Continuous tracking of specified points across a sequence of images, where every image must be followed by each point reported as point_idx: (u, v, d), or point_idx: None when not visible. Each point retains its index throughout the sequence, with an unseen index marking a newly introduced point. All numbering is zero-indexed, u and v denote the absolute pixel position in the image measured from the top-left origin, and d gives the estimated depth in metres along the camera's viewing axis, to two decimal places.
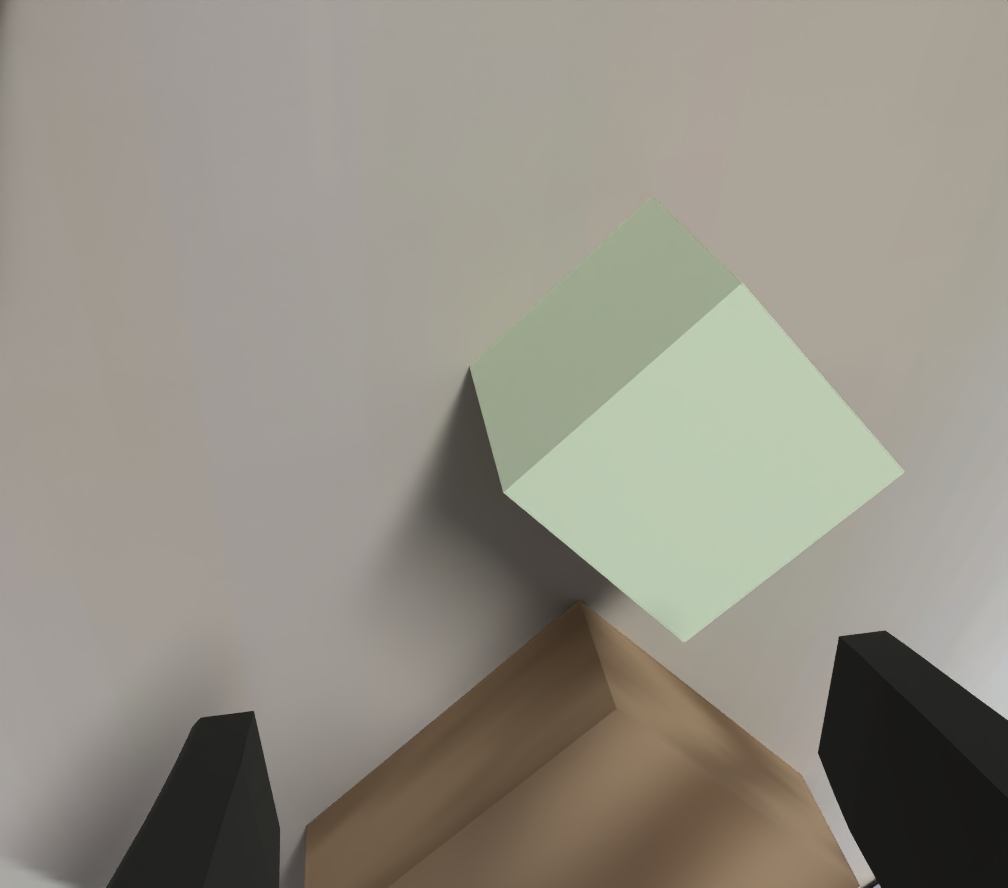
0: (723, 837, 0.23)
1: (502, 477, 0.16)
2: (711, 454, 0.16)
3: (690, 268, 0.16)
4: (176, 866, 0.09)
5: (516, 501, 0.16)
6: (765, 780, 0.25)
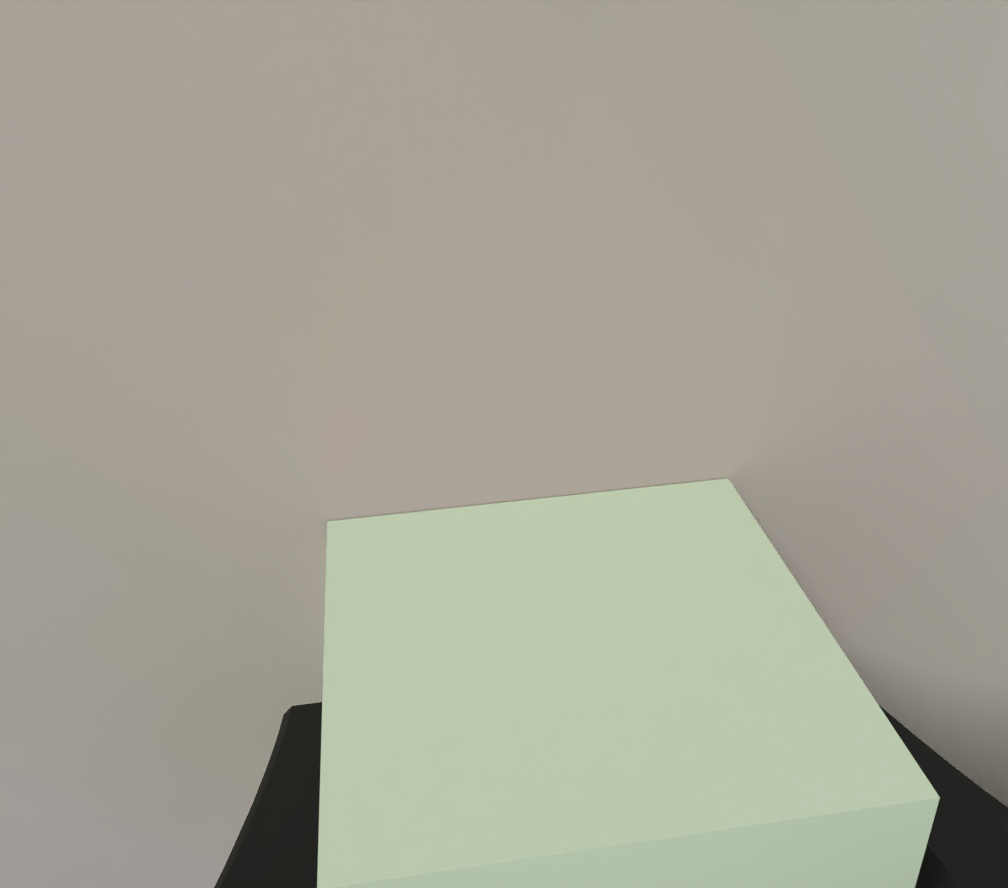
0: None
1: None
2: None
3: None
4: (291, 849, 0.09)
5: None
6: None
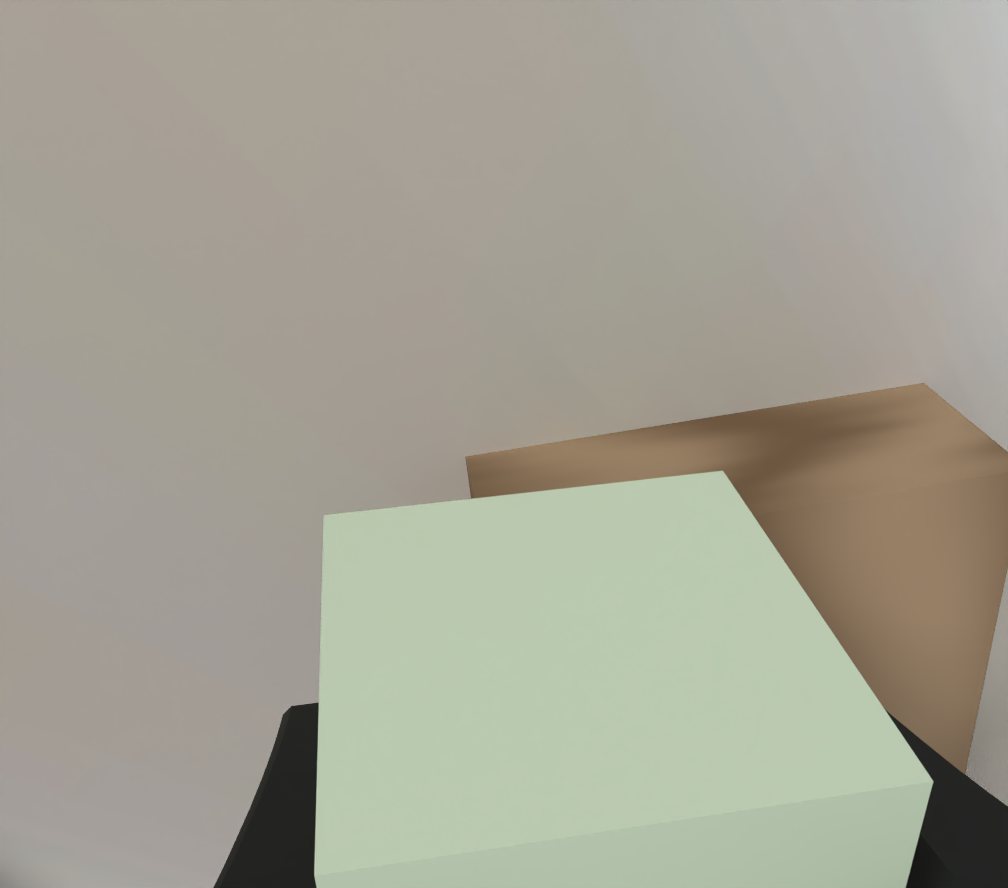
0: None
1: None
2: None
3: None
4: (290, 850, 0.09)
5: None
6: (820, 449, 0.19)
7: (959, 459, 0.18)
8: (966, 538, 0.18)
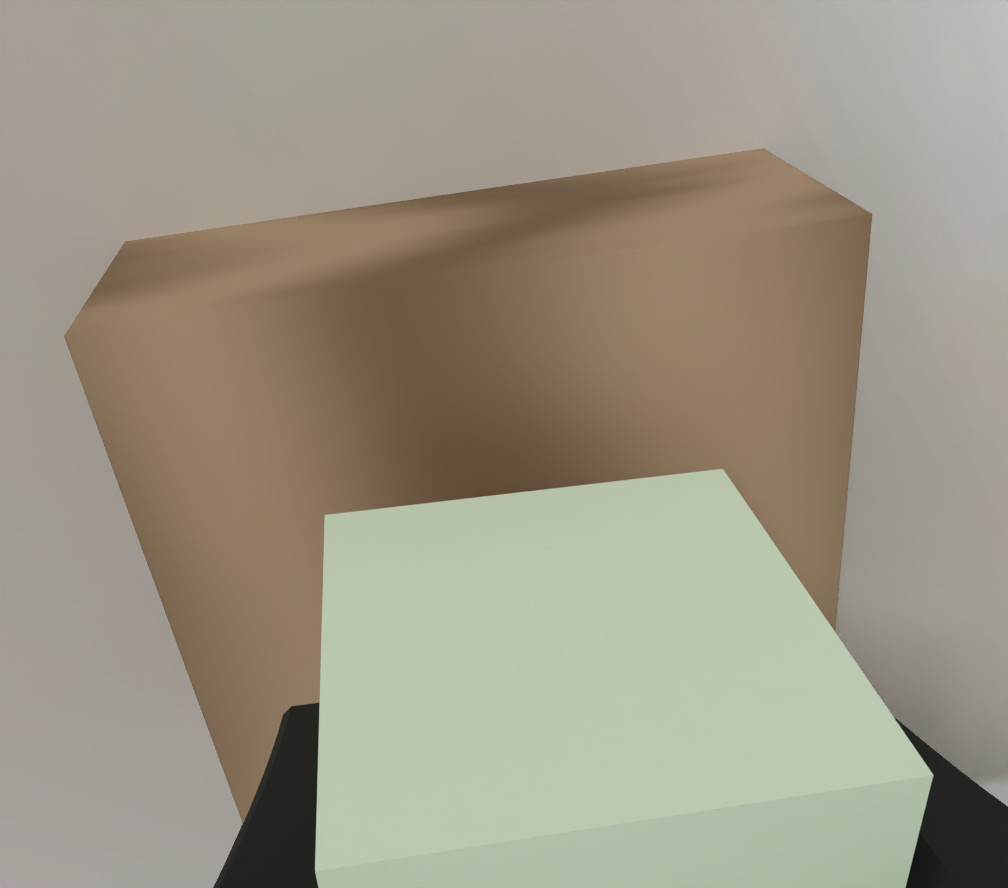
0: (518, 349, 0.12)
1: None
2: None
3: None
4: (289, 850, 0.09)
5: None
6: (594, 211, 0.13)
7: (779, 210, 0.13)
8: (791, 326, 0.13)
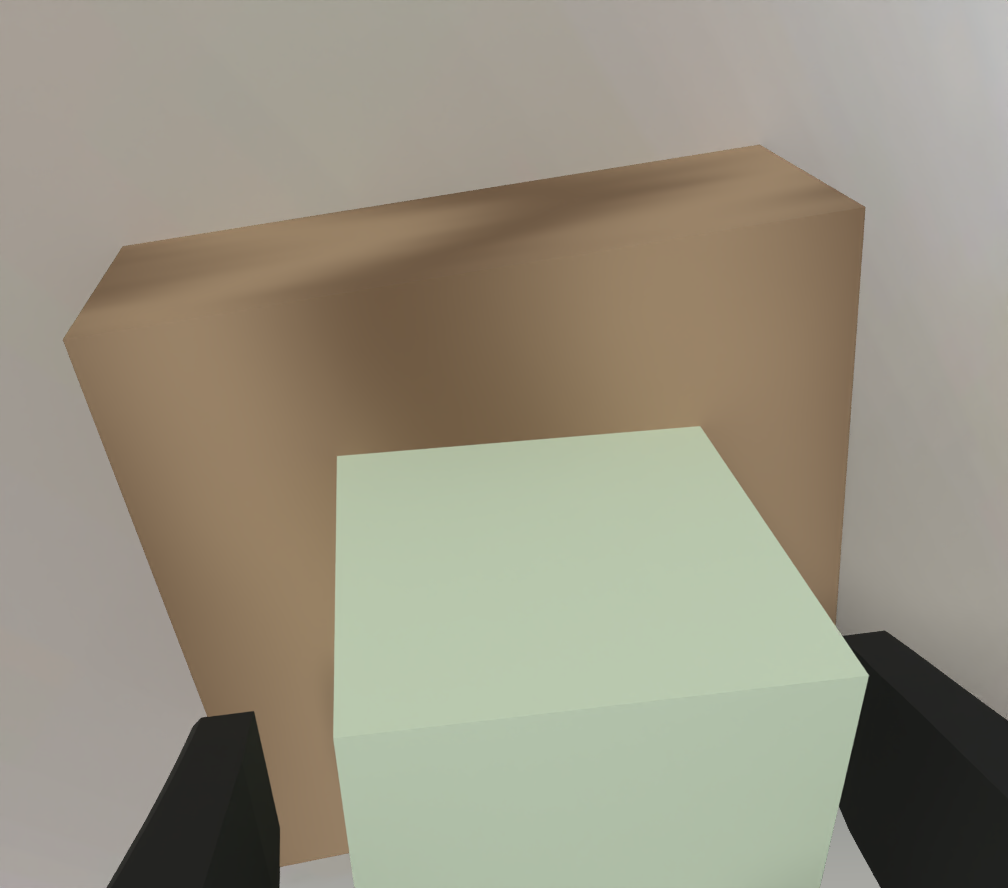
0: (514, 346, 0.12)
1: None
2: (560, 867, 0.10)
3: None
4: (176, 866, 0.09)
5: None
6: (589, 209, 0.13)
7: (773, 205, 0.13)
8: (787, 320, 0.13)
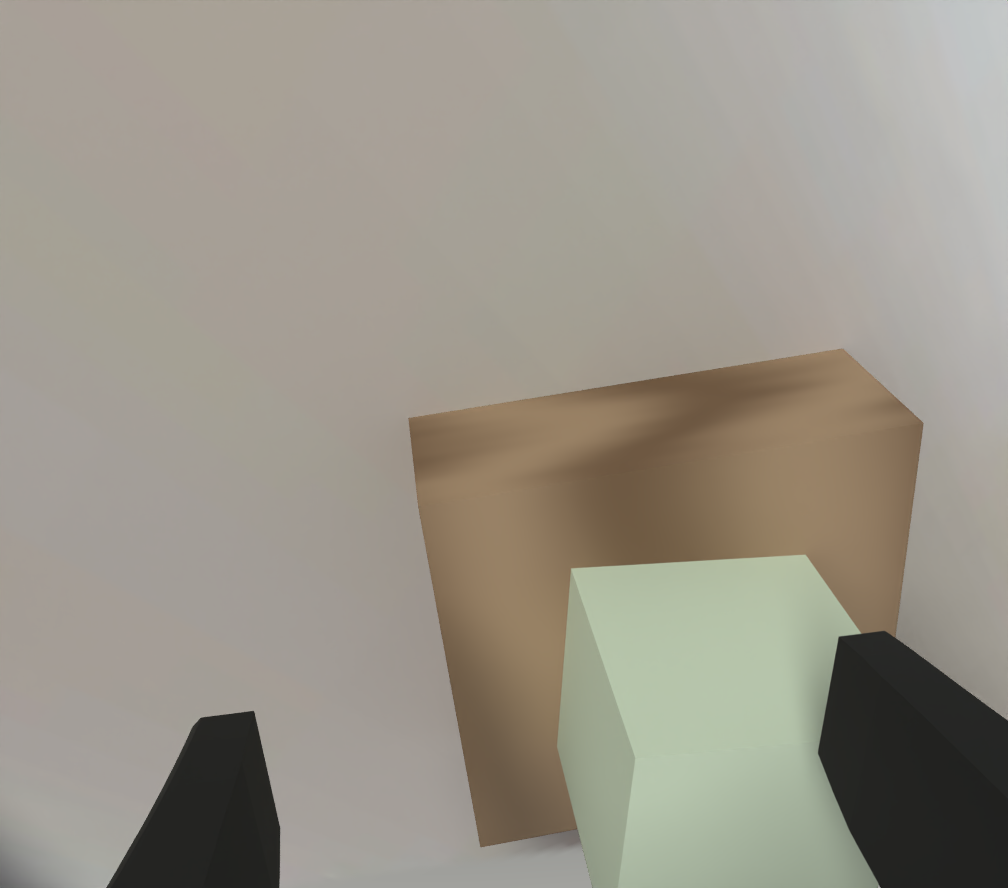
0: (693, 506, 0.19)
1: None
2: (740, 837, 0.16)
3: (610, 707, 0.17)
4: (176, 866, 0.09)
5: None
6: (736, 408, 0.20)
7: (861, 415, 0.19)
8: (869, 489, 0.20)
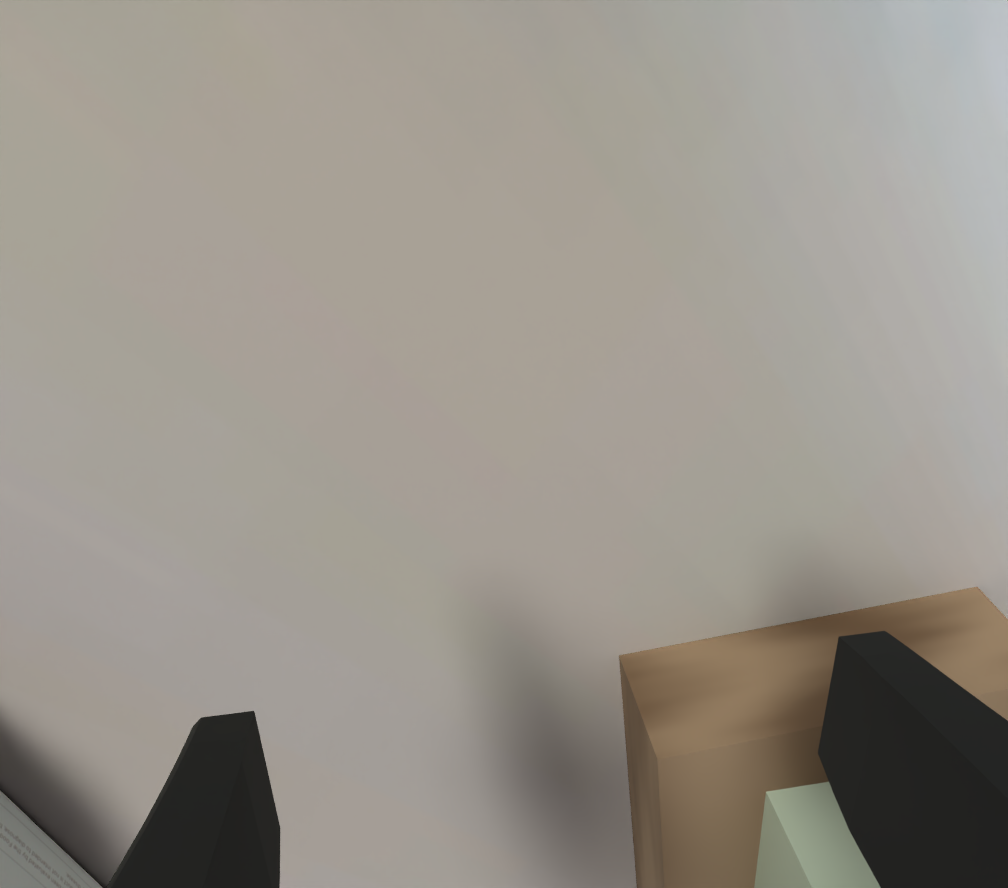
0: None
1: None
2: None
3: None
4: (176, 866, 0.09)
5: None
6: None
7: None
8: None
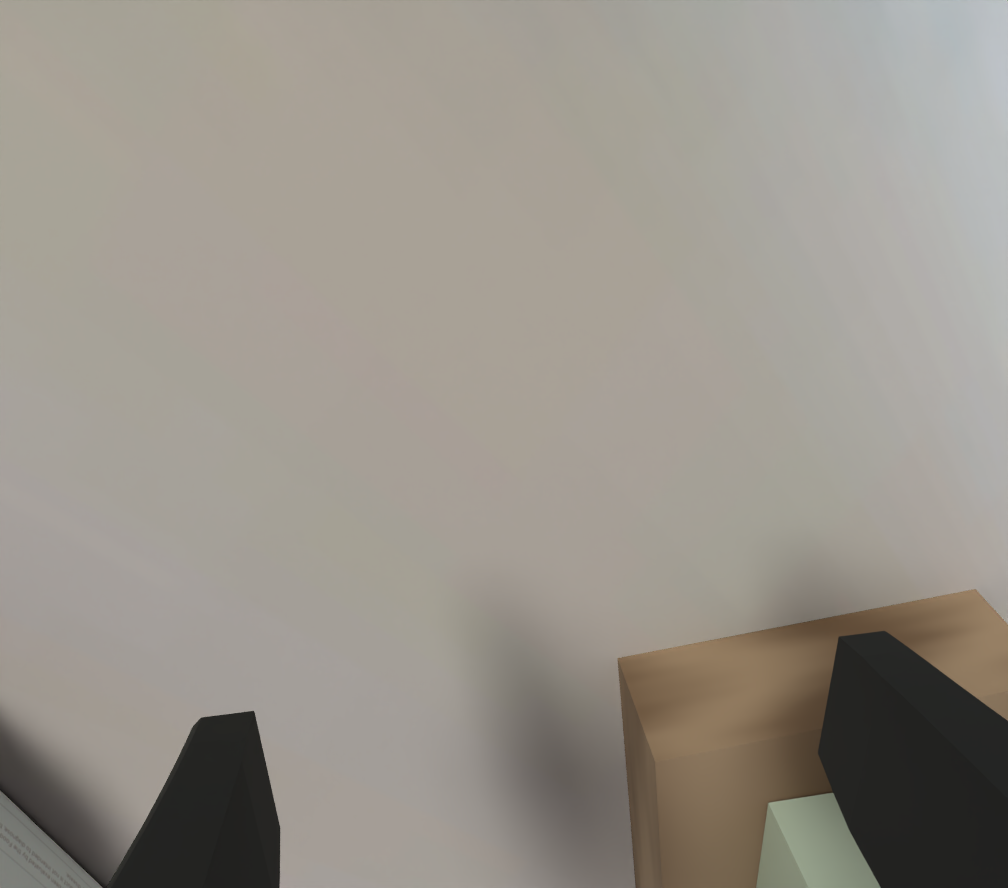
0: None
1: None
2: None
3: None
4: (176, 866, 0.09)
5: None
6: None
7: (1006, 669, 0.24)
8: None
